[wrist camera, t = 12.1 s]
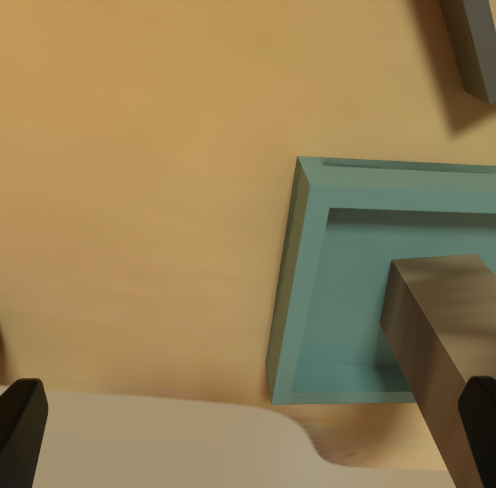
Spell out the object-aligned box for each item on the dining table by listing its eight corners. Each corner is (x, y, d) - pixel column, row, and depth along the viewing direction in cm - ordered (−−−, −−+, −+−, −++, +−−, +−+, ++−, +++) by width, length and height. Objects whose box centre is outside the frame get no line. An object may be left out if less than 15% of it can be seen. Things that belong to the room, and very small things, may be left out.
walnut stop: (379, 323, 25) (491, 563, 15) (391, 259, 23) (534, 497, 13) (455, 317, 26) (614, 550, 16) (475, 253, 23) (679, 482, 13)
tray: (265, 364, 28) (271, 404, 26) (297, 156, 20) (310, 185, 18) (500, 363, 30) (526, 400, 27) (610, 171, 22) (661, 199, 20)
